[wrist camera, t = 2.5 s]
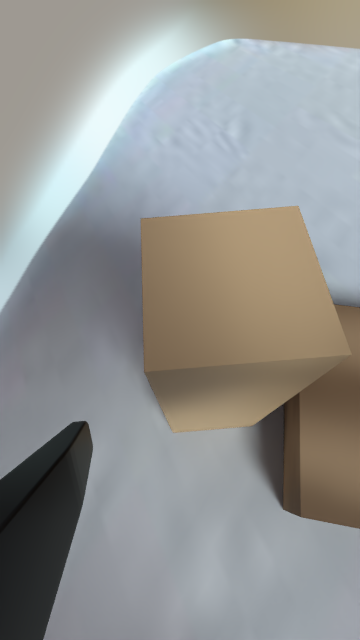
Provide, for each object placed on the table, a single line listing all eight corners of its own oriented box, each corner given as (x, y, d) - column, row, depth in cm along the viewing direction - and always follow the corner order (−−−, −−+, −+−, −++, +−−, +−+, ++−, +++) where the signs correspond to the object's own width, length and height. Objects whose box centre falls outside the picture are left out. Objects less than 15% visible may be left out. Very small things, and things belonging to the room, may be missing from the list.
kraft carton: (252, 426, 19) (351, 354, 7) (173, 432, 19) (144, 371, 7) (238, 351, 21) (298, 205, 9) (168, 357, 21) (141, 218, 9)
